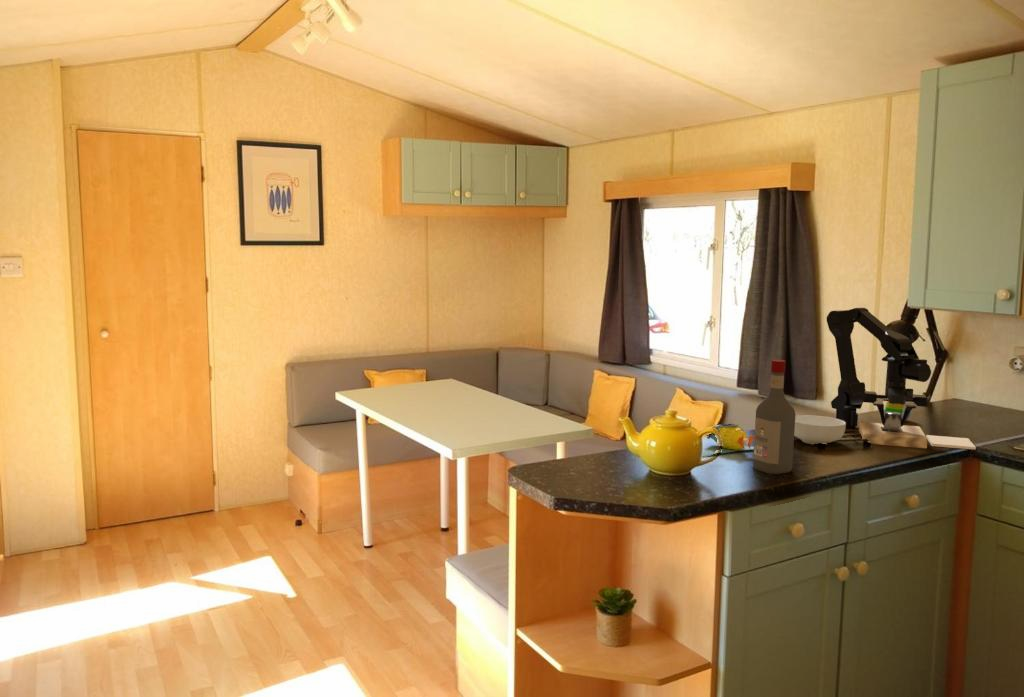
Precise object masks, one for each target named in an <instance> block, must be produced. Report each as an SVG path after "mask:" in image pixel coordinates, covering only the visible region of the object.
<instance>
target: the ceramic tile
mask: <svg viewBox="0 0 1024 697" xmlns="http://www.w3.org/2000/svg"><path fill="white" fill-rule="evenodd" d="M925 436H926V437H927V442H929V444H930V446H932V447H939V448H940V447H941V448H951V449H952V448H953V449H962V450H974V451H975V450H976V448H977V447H976V446H975V445H974V443H973V442H972V441H971V440H970V438H968V437H956V436H955V437H954V436H944V435H931V434H930V435H929V434H926V435H925Z"/></svg>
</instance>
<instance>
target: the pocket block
mask: <svg viewBox="0 0 1024 697" xmlns="http://www.w3.org/2000/svg"><path fill="white" fill-rule="evenodd" d="M858 425H859V426H858V433H859V435H860V434H861V436H862V438H863V439H867V440H869V441H870V443H871V444H870V445H880V446H881V445H882V446H894V447H895V446H896V447H906V448H915V449H918V448H919V449H927V448H928V439H927V437H926V435H925V433H924V432H923V430H922V429H921V427H920V426H917V425H906V424H905V425H904V424H903V426H902V427H901V433H899V432H886V431H883V429H884V425H882V422H881V423H879V422H867V421H859V422H858ZM861 436H860V437H861Z"/></svg>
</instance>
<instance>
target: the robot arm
mask: <svg viewBox="0 0 1024 697" xmlns="http://www.w3.org/2000/svg"><path fill="white" fill-rule="evenodd" d="M826 323H827V327H828V330H829V332H830V333H831V335H832V336H833V337H834V339H835V347H836V353H837V354H836V355H837V360H838V366H839V367H838V368H839V374H840V382H839V385H838V386H837V395H835V397H834V398H833V399H832V400H831V401H830V406H831V409H835V417H834V418H836V419H840V420H842V421H844V422H845V423H846V427H845V429H855V430H856V429H857V427H858V423H859V422H858V421H859V420H858V419H859V413H858V412H857V410H858V409H859V410H861V409H862V407H863V404H864V403H867V404H868V403H869V404H870V403H871V404H872V405H873V406H876V407H877V410H878V412H879V417H880V421H881V424H882V425H884V416H885V404H884V402H887V401H888V402H889V403H890V404H894V403H895V404H902V405H903V404H904V407H903V412H902V421H901V427H902V426H903V425H904V424H905V422H906V421H907V420H906V418H907V416H908V414H909V412H910V411H912V410H914V409H917V407H925V408H927V407H929V399H928V397H927V396H926V395H925V394H914V388H906V385H907V384H906V382H907V380H909V381H916V382H920V383H925V382H926V383H927V381H929V379H930V378H931V375H932V370H931V367H930V365H929V364H928V360H927V359H925V358H924V359H921V358H920V357H919V355H918V353H917V352H916V350H915V347H914V346H913V342H912V340H911V338H909V337H908V336H905V335H904V334H902V333H900V332H897V331H893V330H892V329H890V328H889V327H888V326H887V325H886V324H885V323H883V322H882V321H881V320H880V319H878V318H877V317H876V316H874V314H872V313H871V312H870V311H869V309H868V308H865V307H854V308H852V309H847V310H846V309H845V310H831V311H830V312H829V313H828V314H827V315H826ZM855 323H858V324H859V325H860V326H861V327H863V328H864V329H865V330H866V331H868V333H870V334H871V335H872V336H873V337H874V338H876V339H877V340H878V341H879V343H880V347H881V348H882V350H884V352H885V353H886V355H885V356H884V357H882V358H881V361H883V362H887V364H886V375H885V376H886V377H885V388H884V394H877V392H876V391H868V390H866V384H865V382H863V381H862V382H861V381H860V380H859V379H858V375H857V370H856V363H855V356H854V349H853V343H852V333H853V331H854V329H855ZM910 413H911V412H910ZM905 420H906V421H905Z"/></svg>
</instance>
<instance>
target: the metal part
mask: <svg viewBox="0 0 1024 697" xmlns="http://www.w3.org/2000/svg"><path fill="white" fill-rule="evenodd" d="M901 421H902V414H901V413H898V412H885V411H884V429H883V431H886V432H899V433H901Z"/></svg>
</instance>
